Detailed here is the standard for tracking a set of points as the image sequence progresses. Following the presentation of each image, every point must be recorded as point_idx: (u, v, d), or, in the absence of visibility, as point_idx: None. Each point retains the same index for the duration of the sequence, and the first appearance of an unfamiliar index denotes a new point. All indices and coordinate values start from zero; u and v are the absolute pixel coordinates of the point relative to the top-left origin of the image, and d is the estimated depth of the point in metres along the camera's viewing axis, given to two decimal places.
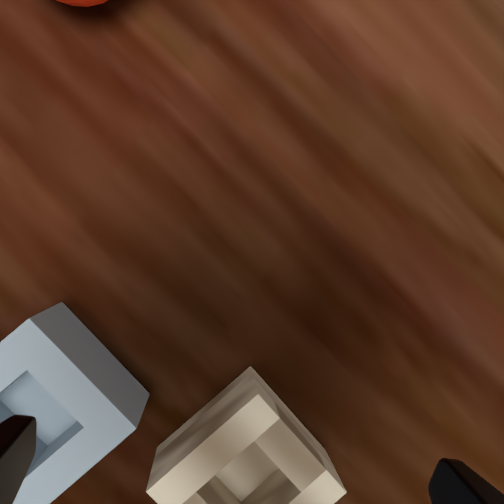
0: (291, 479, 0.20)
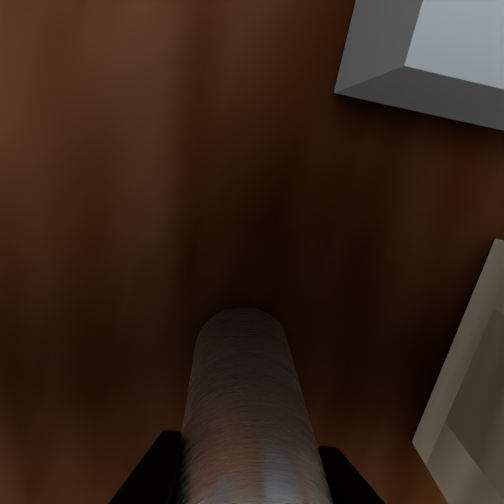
0: None
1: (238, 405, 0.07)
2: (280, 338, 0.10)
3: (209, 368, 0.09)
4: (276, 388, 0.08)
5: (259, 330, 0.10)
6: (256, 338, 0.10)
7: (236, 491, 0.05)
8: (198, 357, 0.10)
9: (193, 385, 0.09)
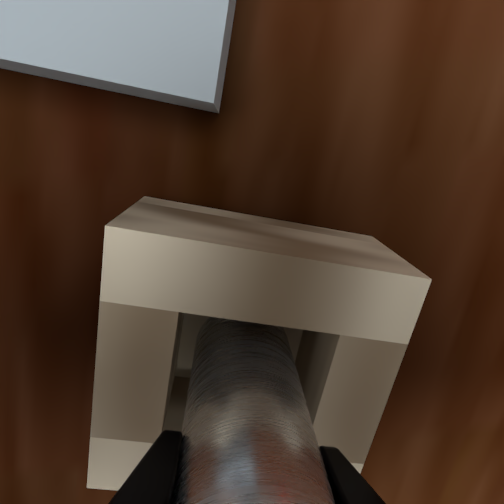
0: None
1: (238, 403, 0.07)
2: (281, 336, 0.10)
3: (210, 367, 0.09)
4: (277, 386, 0.08)
5: (260, 329, 0.10)
6: (256, 337, 0.10)
7: (236, 490, 0.05)
8: (198, 355, 0.10)
9: (193, 383, 0.09)
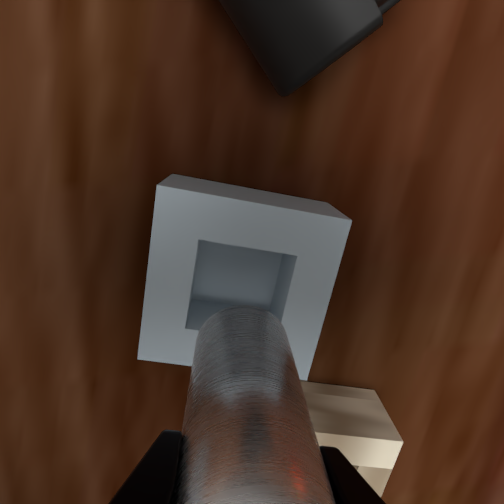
0: None
1: (238, 403, 0.07)
2: (281, 336, 0.10)
3: (210, 366, 0.09)
4: (277, 386, 0.08)
5: (260, 328, 0.10)
6: (256, 336, 0.10)
7: (236, 489, 0.05)
8: (198, 355, 0.10)
9: (193, 383, 0.09)
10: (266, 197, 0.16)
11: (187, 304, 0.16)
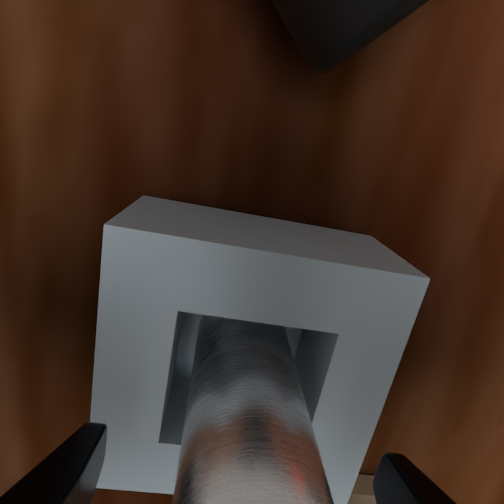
0: None
1: (237, 377, 0.08)
2: None
3: (212, 347, 0.10)
4: (272, 363, 0.09)
5: None
6: None
7: (236, 445, 0.06)
8: (201, 338, 0.11)
9: (197, 362, 0.10)
10: (286, 235, 0.10)
11: (161, 408, 0.10)
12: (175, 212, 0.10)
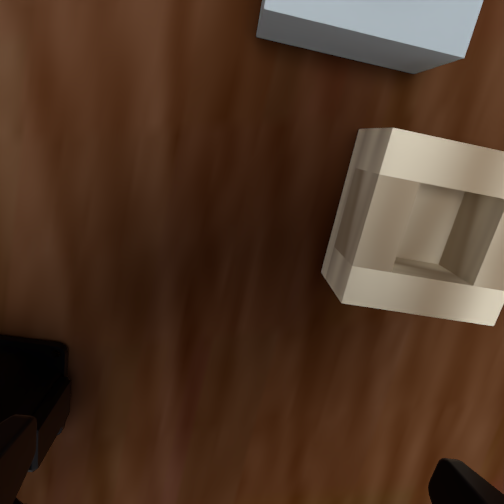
0: (482, 267, 0.17)
1: None
2: None
3: None
4: None
5: None
6: None
7: None
8: None
9: None
10: None
11: None
12: None
